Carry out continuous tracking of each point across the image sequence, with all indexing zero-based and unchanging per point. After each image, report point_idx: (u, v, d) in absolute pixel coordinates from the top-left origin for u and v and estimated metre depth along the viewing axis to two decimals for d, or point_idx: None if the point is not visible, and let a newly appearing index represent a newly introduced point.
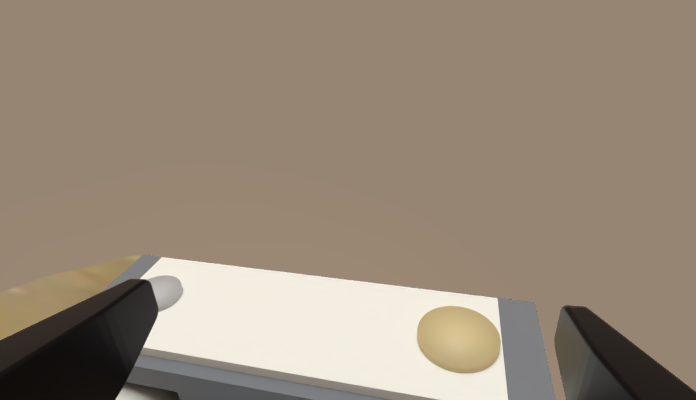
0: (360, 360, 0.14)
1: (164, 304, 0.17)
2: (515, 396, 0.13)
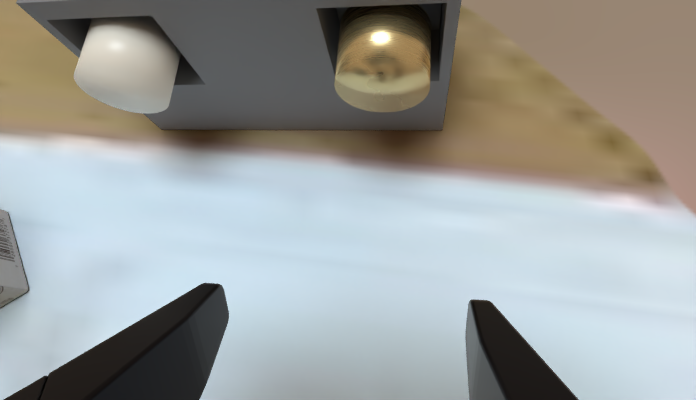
0: None
1: None
2: None
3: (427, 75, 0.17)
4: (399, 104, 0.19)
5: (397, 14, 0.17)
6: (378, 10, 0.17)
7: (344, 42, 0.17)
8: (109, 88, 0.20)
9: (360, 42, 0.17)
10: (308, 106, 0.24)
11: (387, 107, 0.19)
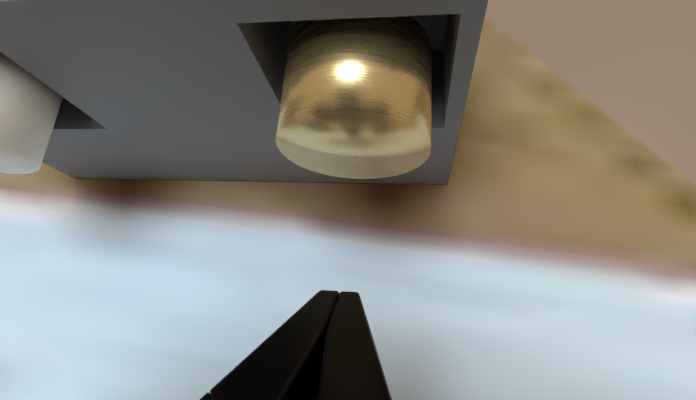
0: None
1: None
2: None
3: (426, 134, 0.10)
4: (383, 169, 0.12)
5: (375, 33, 0.10)
6: (344, 25, 0.10)
7: (289, 78, 0.11)
8: None
9: (312, 81, 0.10)
10: (259, 155, 0.17)
11: (365, 173, 0.13)
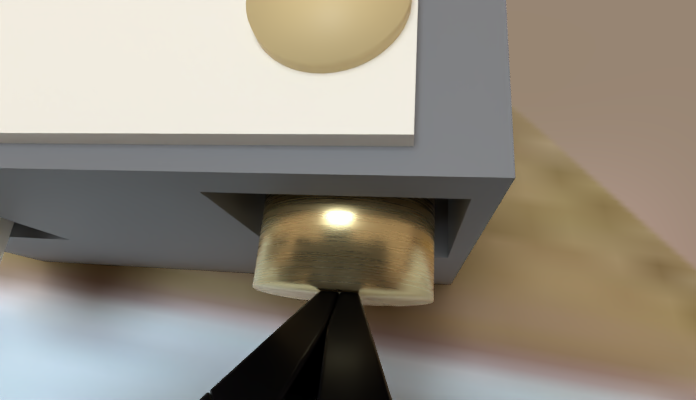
0: (143, 83, 0.07)
1: None
2: (434, 96, 0.07)
3: (429, 291, 0.09)
4: (378, 303, 0.11)
5: None
6: None
7: (267, 219, 0.09)
8: None
9: (293, 237, 0.08)
10: (242, 261, 0.15)
11: None
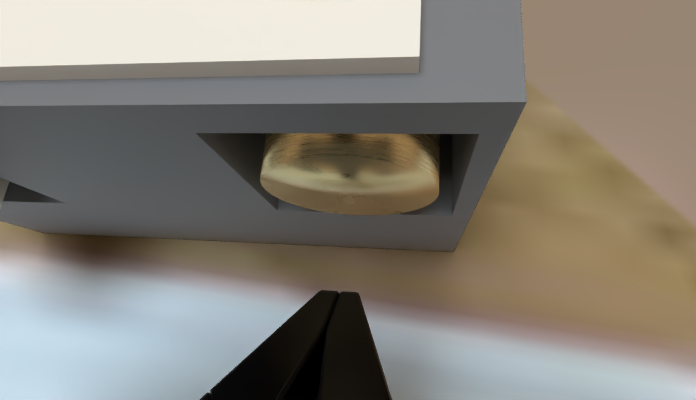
0: (134, 13, 0.07)
1: None
2: (441, 22, 0.07)
3: (434, 177, 0.09)
4: (384, 208, 0.11)
5: None
6: None
7: None
8: None
9: None
10: (241, 226, 0.15)
11: (364, 210, 0.11)
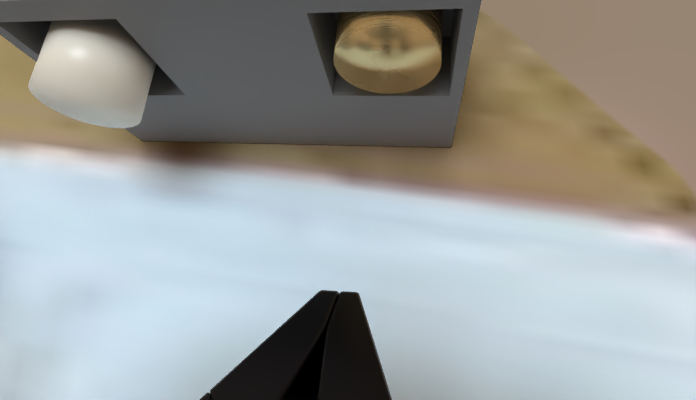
0: None
1: None
2: None
3: (439, 49, 0.15)
4: (406, 83, 0.17)
5: None
6: None
7: None
8: (71, 101, 0.17)
9: None
10: (301, 120, 0.21)
11: (392, 87, 0.17)
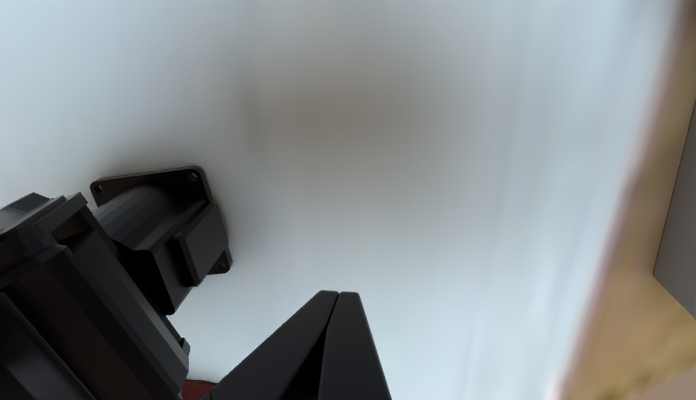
0: None
1: None
2: None
3: None
4: None
5: None
6: None
7: None
8: None
9: None
10: None
11: None
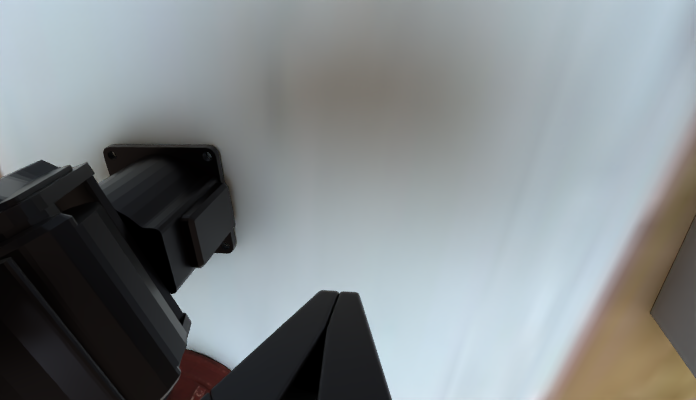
0: None
1: None
2: None
3: None
4: None
5: None
6: None
7: None
8: None
9: None
10: None
11: None
